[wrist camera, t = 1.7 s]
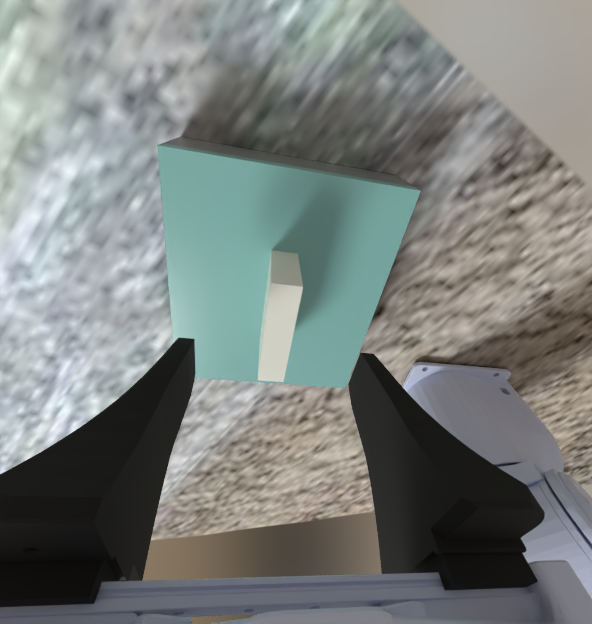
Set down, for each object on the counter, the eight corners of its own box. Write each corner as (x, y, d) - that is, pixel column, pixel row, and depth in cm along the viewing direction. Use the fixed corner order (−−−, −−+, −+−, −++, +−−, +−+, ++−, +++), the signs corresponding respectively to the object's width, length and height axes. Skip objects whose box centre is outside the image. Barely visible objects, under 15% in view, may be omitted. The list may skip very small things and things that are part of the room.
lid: (414, 186, 15) (457, 212, 12) (343, 379, 23) (356, 430, 19) (162, 143, 13) (123, 157, 10) (179, 368, 21) (160, 421, 18)
